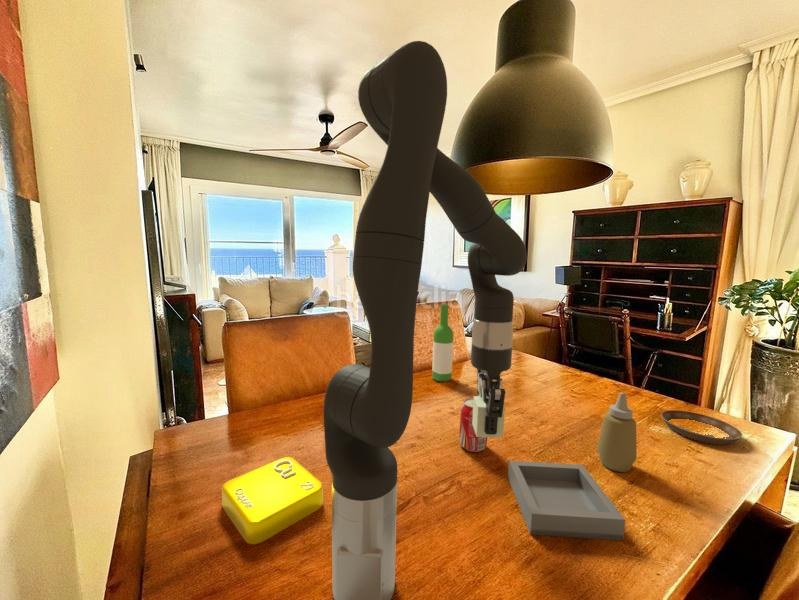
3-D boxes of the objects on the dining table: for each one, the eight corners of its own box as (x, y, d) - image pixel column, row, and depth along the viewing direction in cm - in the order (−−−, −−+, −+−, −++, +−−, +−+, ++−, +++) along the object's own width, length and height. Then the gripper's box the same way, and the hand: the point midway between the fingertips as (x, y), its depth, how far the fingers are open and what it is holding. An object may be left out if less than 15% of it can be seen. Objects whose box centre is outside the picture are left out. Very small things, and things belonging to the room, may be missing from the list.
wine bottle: (441, 374, 144) (444, 302, 140) (455, 379, 138) (459, 305, 134) (427, 378, 139) (430, 304, 135) (442, 383, 133) (445, 306, 129)
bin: (622, 540, 61) (625, 519, 60) (530, 534, 62) (531, 513, 61) (581, 481, 77) (582, 464, 76) (507, 477, 78) (508, 460, 77)
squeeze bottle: (587, 459, 85) (594, 389, 83) (611, 453, 88) (618, 385, 86) (618, 479, 78) (627, 402, 76) (643, 472, 81) (652, 398, 78)
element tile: (219, 504, 68) (218, 481, 67) (289, 471, 79) (289, 451, 78) (250, 551, 58) (249, 525, 57) (327, 506, 68) (327, 483, 68)
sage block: (502, 437, 66) (504, 408, 65) (476, 436, 66) (478, 407, 65) (496, 424, 71) (498, 397, 70) (472, 423, 71) (473, 396, 70)
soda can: (467, 436, 95) (469, 394, 93) (491, 446, 90) (494, 402, 89) (453, 447, 89) (455, 402, 88) (479, 457, 85) (481, 411, 83)
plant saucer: (672, 413, 113) (673, 404, 112) (747, 437, 98) (749, 427, 98) (650, 428, 103) (651, 418, 102) (730, 457, 88) (732, 446, 88)
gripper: (523, 354, 59) (517, 447, 61) (502, 334, 73) (497, 410, 76) (478, 352, 59) (474, 445, 62) (466, 333, 73) (463, 409, 76)
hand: (487, 425), depth 69 cm, fingers closed on sage block, 5 cm apart
